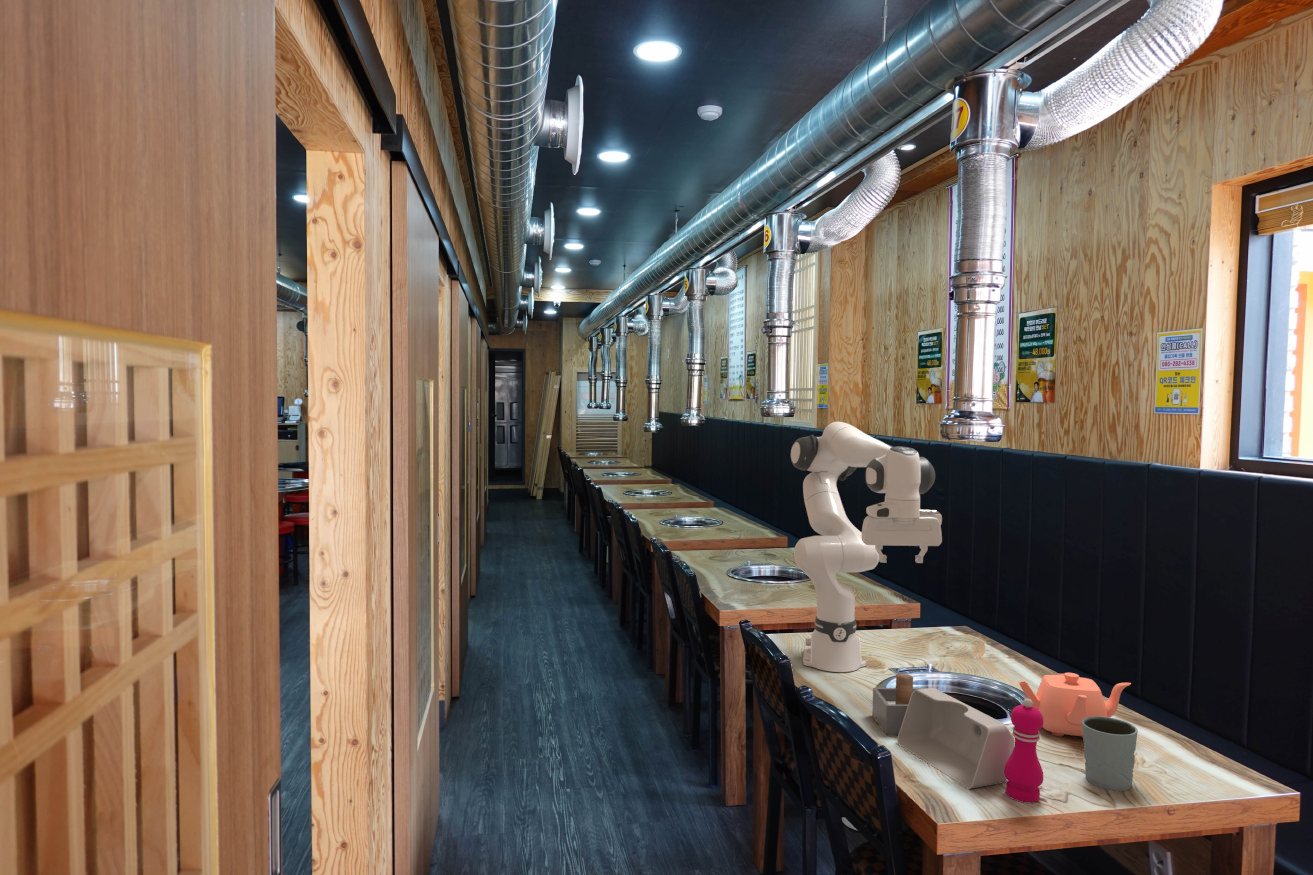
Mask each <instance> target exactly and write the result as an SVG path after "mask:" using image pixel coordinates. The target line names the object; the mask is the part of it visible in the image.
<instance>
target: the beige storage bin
mask: <svg viewBox="0 0 1313 875" xmlns="http://www.w3.org/2000/svg"><path fill="white" fill-rule="evenodd" d="M896 739H897V740H896V741H897V745H899V746H901V747H902V748H904V749H905V750H907V751H909V753H912V755H914V756H916V757H917V758H919V759H921V760H922V761H924V762H925V763H927V764H928V765H929V766H931V767H933V768H935V769H936V770H937V771H939V772H941V773H942V774H944V775H945V776H947V777H948V778H949V779H951V780H952V781H954V782H956V783H958V784H959V785H961V786H963V787H964V788H965V787H966V788H965V789H967V790H971V789H977V788H982V787H987V786H993V785H997V784H1003V783H1007V781H1008V780H1007V778H1006V777H1005V774H1004V769H1005V764H1006V762H1007V760H1008V759H1009V757H1010V756H1011V754H1012V752H1013V749H1014V745H1015V737H1014V736H1013V734H1012V733H1011V731H1010V729H1009V728H1008V726H1007V725H1006V724H1005V723H1004V722H1002V721H999V720H997V719H996V718H993V717H992V716H990V715H988V714H986V713H984V712H982V711H980V710H978V709H977V708H974V707H972V706H970V705H969V704H966V703H964V702H962V701H960V700H959V699H957V698H954V697H952V696H950V695H949V694H947V693H945V692H943V691H940V690H939V689H937V688H935V687H928V688H921V689H919V690H914V691H913V692H912V694H911V697H910V700H909V704H908V707H907V710H906V713H905V716H904V719H903V722H902V725H901V728H900V731H899V735H897V738H896Z"/></svg>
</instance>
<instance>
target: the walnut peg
mask: <svg viewBox="0 0 1313 875" xmlns="http://www.w3.org/2000/svg"><path fill="white" fill-rule="evenodd" d="M895 688H896V702H895V704H898V705H908V704H909V700H910V697H911V694H912V692H913V688H914V676H913V675H911V674H907V673H898V674H895Z"/></svg>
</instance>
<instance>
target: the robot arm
mask: <svg viewBox="0 0 1313 875" xmlns="http://www.w3.org/2000/svg"><path fill="white" fill-rule="evenodd" d="M790 462H791V463H792V465H793V467H794V468H796V469H797V470H800V471H808V472H810V473H809V474H807V475H806V476H805V478H804V479H803V483H802V492H803V499H804V500H803V502H804V505H805V508H806V514H807V517H808V522H809V525H810V527H811V528H812V529H813V531H814V532H815V533H817V534H819V535H812V536H806V537H803V538H800V539H799V540H798V541H797V543H796V544H795V546H794V549H793V559H794V562H795V565H796V566H797V567H798V569H800V570H801V571H803V573H804V574H806V576H807V577H808V578H809V579H810V580H811V582H812V584H813V586H814V590H815V596H816V616H815V619H814V630H813V631H812V632H811V634H810V637H806V638H805V647H804V648H803V652H802V653H803V656H802V665H804V666H807V667H811V668H812V667H813V668H814V669H818V670H821V671H825V672H833V673H849V672H853V671H856V670H859V669H860V668H863V667H866V666H867V661H865V660H864V659H863V658H862V642H861V638H860V636H859V635H857V633H856V632H857V631H856V630H857V619H856V618H855V615H856V614H855V612H856V611H855V608H856V596H855V593H854V591H853V590H852V589H851V588H850V587H848V586H847V585H845V584H843V583H841V582H839V581H838V578H837V574H839V573H842V574H843V573H861V572H862V573H863V572H867V571H870V570H874V569H875V568H876V567H877V566H878V564H879V562H880V563H884V564H885V563H886V564H887V558H888V556H887V555H886V554H883V552H882V550H883V549H884V548H883V547H884V546H893V547H894V546H895V547H896V546H897V547H899V546H904V547H905V546H909V547H911V546H914V547H919V549H920V551H919V553H918V554H917V555H914V556H915V560H914V561H915V563H916V564H923V563H924V556H925V554H926V553H927V552H928V548H929V547H939V546H940V545H941V544H942V542H943V536H942V528H941V525H942V524H943V523H942V522H943V517H942V514H941V513H940V512H939V511H937V509H921V495H924V494H925V493H927V492H928V491H929V490H930V489H931V488H932V486H933V485H934V484H935V480H936V471H935V468H934V466H933V465H932V463H931V462H930V461H929V459H928V458H925V457H924V456H920V454H919V452H918V451H917V450H916V449H914V448H912V447H908V446H893V445H890V444H888V443H885V442H883V441H881V440H879V439H877V438H874V437H872V436H871V435H869V434H867V433H865V432H863V431H862V430H860V429H858V428H857V427H856V426H854V425H852V424H850V423H847V422H843V421H833V422H831V423H829V424H828V425H826V427H825V428H824V429H823V432H822V435H821V436H815V435H814V434H810V435H808V436H803V437H799V438H797V439H796V440H795V441H794V442H793V443H792V446H791V448H790ZM857 468H865V470H864V480H865V484H866V485H867V488H869V489H870V491H872V492H873V493H876V494H877V493H878V494H885V495H884V501H882V502H879V503H876V504H872V505H869V506H867V507H866V511H865V512H866V514H867V516H866V517H865V518H864V519H863V523H862V528H861V531H860V530H859V529H858V528H857V527H856V526H855V525H853V523H852V522H851V521H850V519H849V518H848V516H847V514H846V511H845V508H844V505H843V503H842V500H841V496H840V493H839V491H838V487H837V482H838V481H840V482H841V481H845V480H847V477H849V476H852V474H853V473H854V472H855V471H856V470H857Z"/></svg>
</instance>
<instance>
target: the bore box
mask: <svg viewBox="0 0 1313 875" xmlns="http://www.w3.org/2000/svg"><path fill="white" fill-rule="evenodd" d="M919 689H922V688H919V687H918V688H917V687H913V691H914V690H919ZM895 702H896V687H872V711H871V712H872V717H873V718H874V720H875V721H876V722H877V724H878V726H879V727H880V729H881V730H882V731H883V733H884V734H885V736H887V735H888V736H890V735H891V736H894V735H897V736H898V735H899V731H900V728H901V725H902V722H903V719H904V716H905V713H906V710H907V707H908V705H898V704H895Z"/></svg>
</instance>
